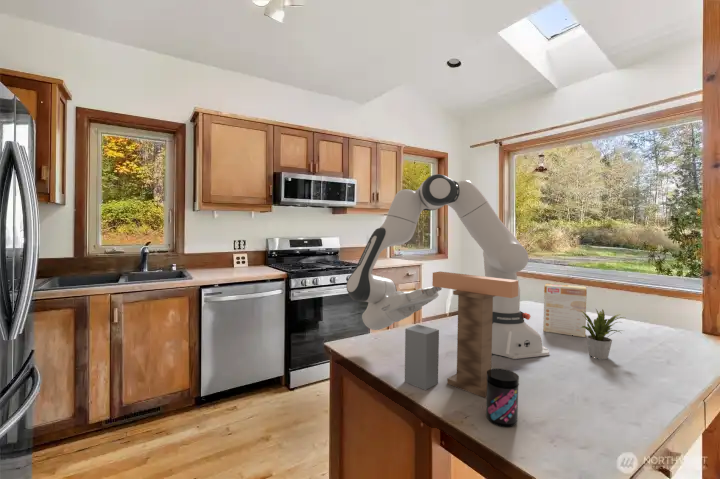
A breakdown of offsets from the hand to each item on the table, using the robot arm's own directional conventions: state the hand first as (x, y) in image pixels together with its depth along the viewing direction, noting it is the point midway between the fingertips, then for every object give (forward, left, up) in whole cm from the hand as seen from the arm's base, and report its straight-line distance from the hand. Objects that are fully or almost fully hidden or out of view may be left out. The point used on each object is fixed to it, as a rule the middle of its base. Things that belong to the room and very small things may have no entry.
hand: (431, 288), depth 106 cm
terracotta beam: (-9, +10, +1) cm, 13 cm away
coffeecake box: (-67, -34, -25) cm, 79 cm away
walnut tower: (-9, +11, -25) cm, 29 cm away
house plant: (-61, -6, -25) cm, 66 cm away
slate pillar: (+5, +8, -25) cm, 27 cm away
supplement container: (-8, +28, -25) cm, 39 cm away
